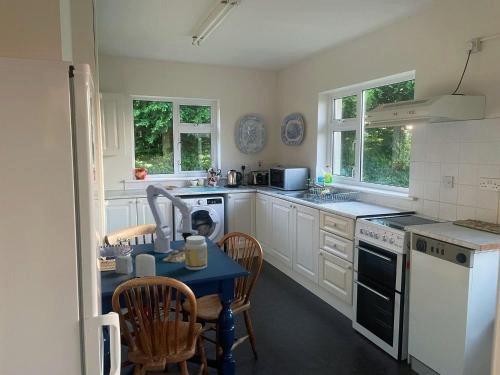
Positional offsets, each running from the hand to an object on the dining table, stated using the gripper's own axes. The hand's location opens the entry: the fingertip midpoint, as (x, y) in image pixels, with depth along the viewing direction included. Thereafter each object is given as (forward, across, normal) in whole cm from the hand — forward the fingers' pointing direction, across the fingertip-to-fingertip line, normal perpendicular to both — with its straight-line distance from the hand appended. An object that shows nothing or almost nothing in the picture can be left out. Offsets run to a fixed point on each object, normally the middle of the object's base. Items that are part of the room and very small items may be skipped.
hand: (187, 244), depth 239 cm
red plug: (+4, 0, 0) cm, 4 cm away
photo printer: (+6, +3, -45) cm, 46 cm away
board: (+6, 0, -7) cm, 9 cm away
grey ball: (+5, 0, -7) cm, 8 cm away
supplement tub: (+6, +19, -21) cm, 29 cm away
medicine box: (+6, -13, -43) cm, 45 cm away
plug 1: (+5, 0, -14) cm, 15 cm away
